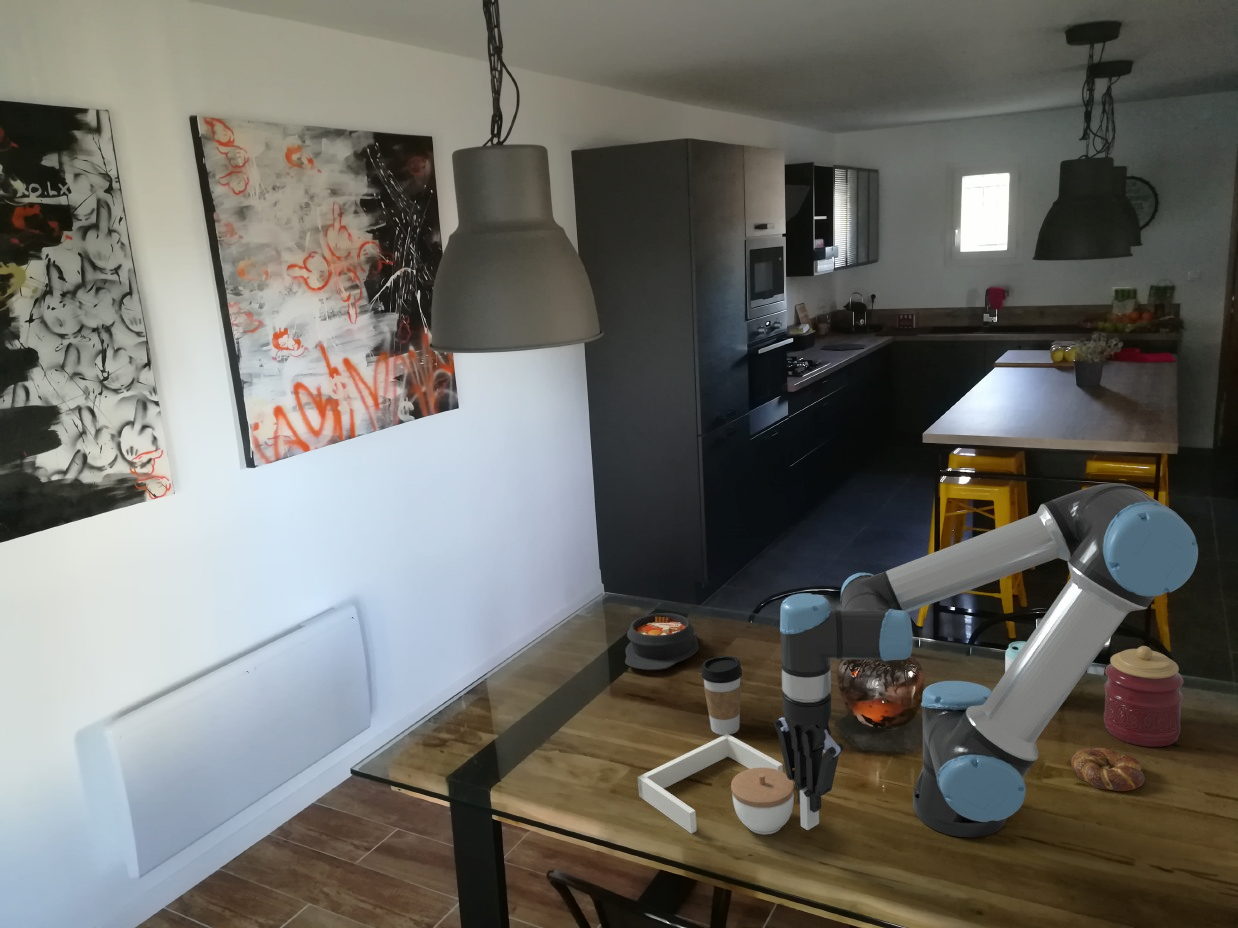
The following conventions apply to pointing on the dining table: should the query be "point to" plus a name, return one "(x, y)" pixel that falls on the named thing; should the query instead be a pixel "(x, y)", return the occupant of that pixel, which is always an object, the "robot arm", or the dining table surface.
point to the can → (1012, 653)
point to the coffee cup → (723, 693)
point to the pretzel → (1107, 769)
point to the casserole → (660, 641)
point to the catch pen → (691, 763)
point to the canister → (1143, 698)
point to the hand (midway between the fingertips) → (809, 824)
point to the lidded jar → (763, 799)
